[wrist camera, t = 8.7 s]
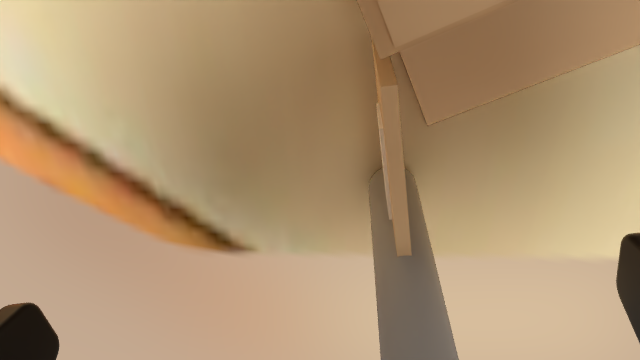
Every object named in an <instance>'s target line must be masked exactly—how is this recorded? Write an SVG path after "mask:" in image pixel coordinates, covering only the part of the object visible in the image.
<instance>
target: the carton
mask: <svg viewBox="0 0 640 360" xmlns="http://www.w3.org/2000/svg"><path fill="white" fill-rule="evenodd" d="M357 3H358V5H359V8H360V10H361V13H362V15H363V17H364V20H365V22H366V25H367V27H368V30H369V32H370V35H371V37H372V40H373V42H374V45H375V47H376V50H377V52H378V55H379V57H380V60H381V59H384V58H386V57H388V56H391V55H393V54H395V53H398V52H400V55H401V57H402V60H403V63H404V65H405V68H406V71H407V73H408V76H409V78H410V81H411V84H412V86H413V89H414V92H415V94H416V97H417V99H418V102H419V105H420V107H421V110H422V113H423V115H424V118H425V120H426V123H427V126H429V125H432V124H434V123H437V122H440V121H442V120H445V119H447V118H450V117H453V116H455V115H458V114H460V113H463V112H466V111H468V110H471V109H473V108H476V107H479V106H481V105H484V104H486V103H489V102H492V101H494V100H497V99H499V98H502V97H505V96H507V95H510V94H512V93H515V92H518V91H520V90H523V89H525V88H528V87H531V86H533V85H536V84H538V83H541V82H544V81H546V80H549V79H551V78H554V77H557V76H559V75H562V74H564V73H567V72H570V71H572V70H575V69H577V68H580V67H583V66H585V65H588V64H591V63H593V62H596V61H598V60H601V59H604V58H606V57H609V56H611V55H614V54H617V53H619V52H622V51H624V50H627V49H630V48H632V47H635V46H637V45H640V0H357Z"/></svg>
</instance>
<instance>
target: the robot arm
mask: <svg viewBox="0 0 640 360" xmlns="http://www.w3.org/2000/svg"><path fill="white" fill-rule="evenodd" d="M616 283H617V290H618V294H619V297H620V299H621V302H622V304H623V306H624V308H625V311H626V313H627V315H628V317H629V320H630V322H631V324H632V327H633V329H634V331H635V334H636V336H637V338H638V340H639V342H640V233H633V234H628V235H626V236H625V237H624V238H623V239H622V242H621V247H620V255H619V263H618V270H617V280H616ZM58 351H59V340H58V336H57V334H56V333H55V331H54V330H53V328H52V327H51V325H50V324H49V322H48V320H47V319H46V317H45V316H44V314H43V313H42V311H41V310H40V308H39V307H38V306H37V305H35V304H33V303H20V304H12V305H8V306H5V307H3V308H2V309H0V360H56V358H57V355H58Z"/></svg>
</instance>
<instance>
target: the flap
mask: <svg viewBox="0 0 640 360" xmlns="http://www.w3.org/2000/svg"><path fill="white" fill-rule="evenodd" d="M371 38H372V37H371ZM372 48H373V58H374V67H375V77H376V87H377V96H378V103H376V108H377V117H378V127H379V136H380V146H381V155H382V165H383V168H382V169H380V170H378V171H377V172H376V173H375V174H374V175H373V176H372V177H371V179H370V182H369V201H370V215H371V229H372V243H373V257H374V270H375V284H376V298H377V311H378V326H379V340H380V354H381V360H459V359H458V355H457V351H456V347H455V343H454V339H453V334H452V330H451V326H450V322H449V318H448V314H447V310H446V305H445V301H444V298H443V293H442V289H441V285H440V281H439V277H438V273H437V268H436V264H435V260H434V256H433V252H432V248H431V244H430V239H429V235H428V231H427V227H426V223H425V219H424V215H423V211H422V206H421V202H420V198H419V194H418V190H417V186H416V182H415V179H414V177H413V175H412V174H411V173H410V172H409V171H408V170H406V169H405V167H404V155H403V143H402V131H401V119H400V106H399V94H398V84H397V80H396V77H395V73H394V69H393V66H392V62H391V58H390V56H388V57H386V58H384V59H381V60H380V57H379V55H378V52H377V50H376V47H375V45H374V42H373V40H372Z"/></svg>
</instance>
